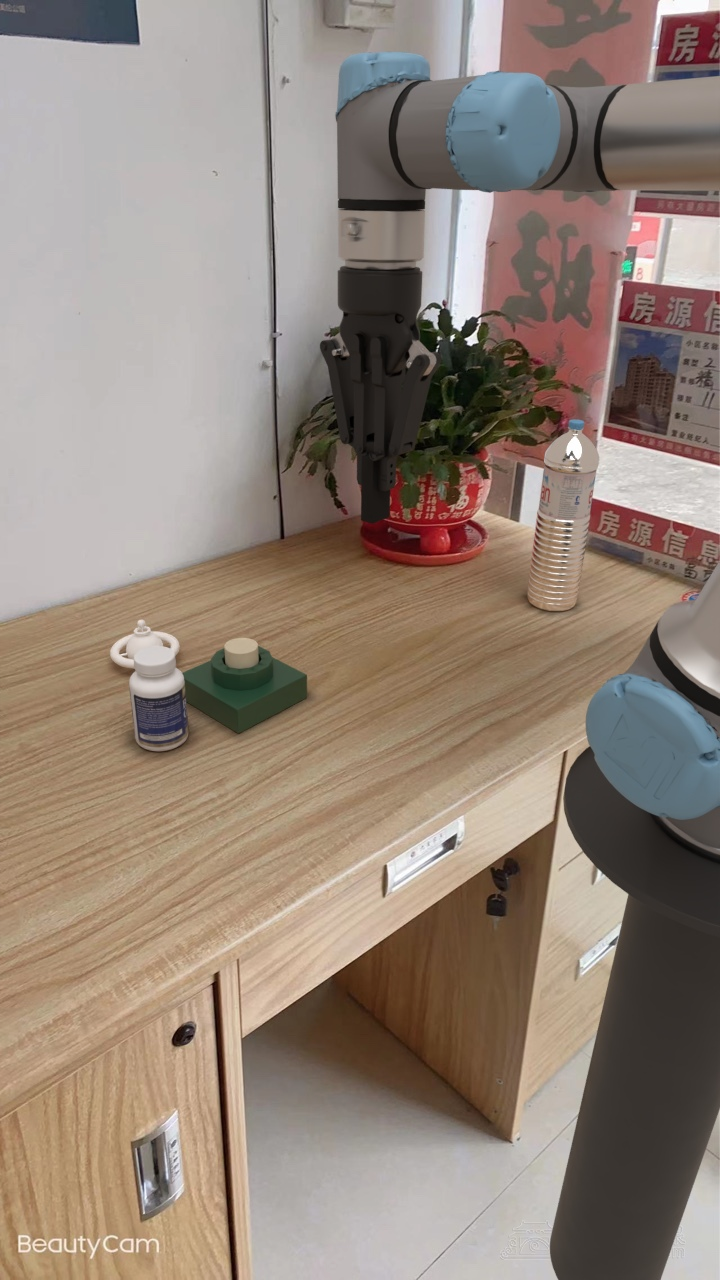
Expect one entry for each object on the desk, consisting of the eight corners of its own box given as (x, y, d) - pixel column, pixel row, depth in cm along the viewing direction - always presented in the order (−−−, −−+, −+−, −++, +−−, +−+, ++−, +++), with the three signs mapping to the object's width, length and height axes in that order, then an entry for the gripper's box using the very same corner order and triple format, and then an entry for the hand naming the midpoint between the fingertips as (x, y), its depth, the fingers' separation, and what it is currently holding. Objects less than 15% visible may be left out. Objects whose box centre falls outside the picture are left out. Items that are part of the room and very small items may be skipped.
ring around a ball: (173, 680, 101) (187, 646, 108) (167, 636, 98) (182, 604, 105) (104, 680, 101) (122, 646, 108) (96, 636, 98) (115, 604, 105)
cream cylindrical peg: (265, 661, 96) (265, 645, 95) (240, 673, 93) (239, 657, 92) (243, 650, 98) (243, 634, 97) (218, 661, 96) (217, 645, 95)
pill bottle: (198, 742, 90) (191, 659, 86) (148, 759, 87) (139, 674, 83) (175, 717, 94) (168, 637, 89) (127, 733, 91) (117, 651, 87)
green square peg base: (307, 697, 98) (307, 658, 96) (238, 734, 92) (236, 693, 89) (248, 666, 104) (246, 628, 102) (179, 697, 98) (176, 658, 95)
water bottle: (567, 617, 117) (595, 431, 106) (518, 605, 120) (541, 422, 108) (582, 598, 123) (611, 419, 111) (536, 587, 126) (559, 411, 114)
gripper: (297, 261, 79) (302, 513, 90) (411, 271, 71) (402, 544, 82) (353, 257, 84) (351, 496, 95) (465, 266, 76) (450, 524, 87)
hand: (375, 518), depth 89 cm, fingers closed
